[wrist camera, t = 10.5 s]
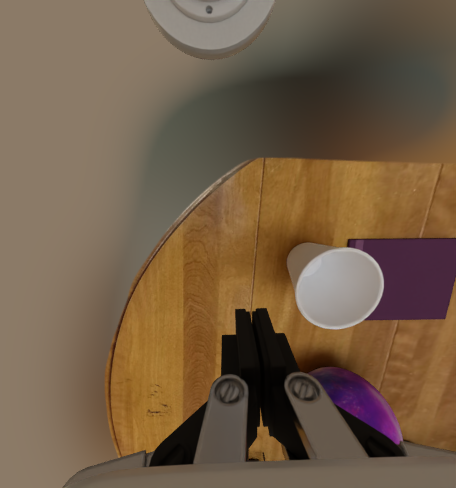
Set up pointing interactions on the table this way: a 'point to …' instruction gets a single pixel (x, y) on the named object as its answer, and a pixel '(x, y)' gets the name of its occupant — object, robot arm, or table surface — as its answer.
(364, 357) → the table surface
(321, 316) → the cup
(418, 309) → the book
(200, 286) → the table surface
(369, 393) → the decorative orb
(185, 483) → the robot arm
